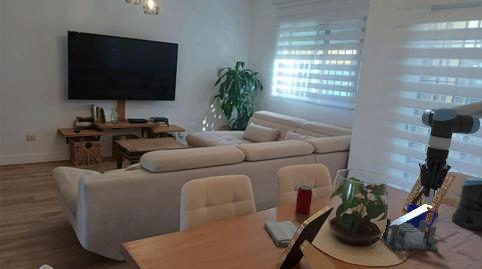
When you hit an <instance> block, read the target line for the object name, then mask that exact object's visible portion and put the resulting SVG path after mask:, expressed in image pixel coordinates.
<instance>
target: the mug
mask: <svg viewBox="0 0 482 269" xmlns="http://www.w3.org/2000/svg"><path fill="white" fill-rule="evenodd" d="M421 206H422V205H420V204H415V203H409V204H407V205H406V214H408V213H410V212H412V211H414V210H416V209H418V208H420V207H421ZM429 213H432V214H433V217H432V219H431V221H430V223H429V224H426V228H429V226H433V224H434V222H435V219H436V216H437V212H436V211H433V210H429V211H427V212H425V213H423V214H422V215H420V216H418V217H416V218H414V219H412V220H410V221H408V222H406V223H405V224H412V225H411V226H415V227H414V228H418V229H419V224H420V220H426V218H427V215H428V214H429Z"/></svg>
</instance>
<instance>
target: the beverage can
mask: <svg viewBox="0 0 482 269" xmlns="http://www.w3.org/2000/svg"><path fill="white" fill-rule="evenodd" d="M296 194H297V196H296V204H295V211H296V212H298V213H300V214H308V213H310V212H311V206H312V199H313V190H312V187H311V186H308V185H300V186H299V188H298V189H297V193H296Z"/></svg>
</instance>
